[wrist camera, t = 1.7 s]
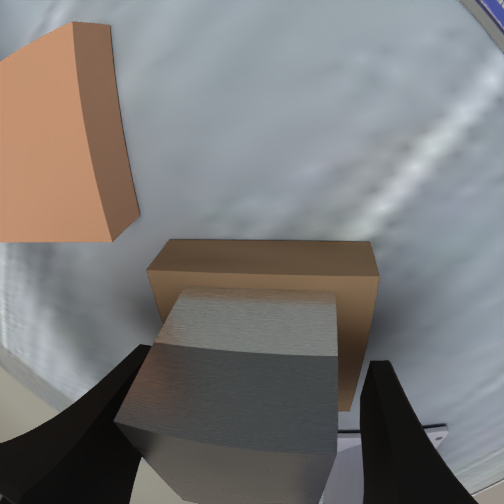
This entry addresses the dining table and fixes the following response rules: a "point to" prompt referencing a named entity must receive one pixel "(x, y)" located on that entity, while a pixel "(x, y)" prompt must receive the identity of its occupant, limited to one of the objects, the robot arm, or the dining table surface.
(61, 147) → the stand
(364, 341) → the stand
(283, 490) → the block
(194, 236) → the dining table surface
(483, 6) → the hard drive
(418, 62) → the dining table surface
